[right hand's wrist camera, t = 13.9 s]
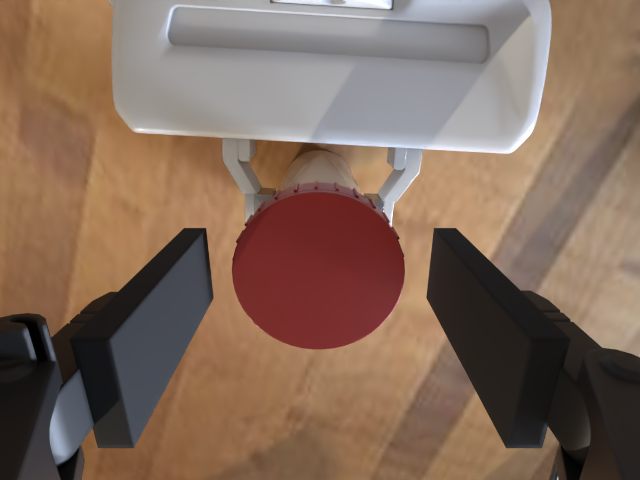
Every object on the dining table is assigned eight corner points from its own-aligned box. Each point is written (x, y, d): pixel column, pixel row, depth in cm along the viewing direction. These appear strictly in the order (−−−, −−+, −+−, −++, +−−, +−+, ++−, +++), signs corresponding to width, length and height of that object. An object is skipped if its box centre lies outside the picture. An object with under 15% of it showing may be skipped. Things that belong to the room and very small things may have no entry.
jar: (297, 228, 29) (276, 347, 15) (273, 163, 27) (225, 227, 13) (362, 208, 28) (404, 311, 14) (342, 140, 27) (367, 182, 13)
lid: (271, 343, 16) (266, 369, 15) (213, 209, 14) (200, 222, 13) (414, 303, 16) (424, 326, 14) (374, 157, 14) (380, 164, 12)
